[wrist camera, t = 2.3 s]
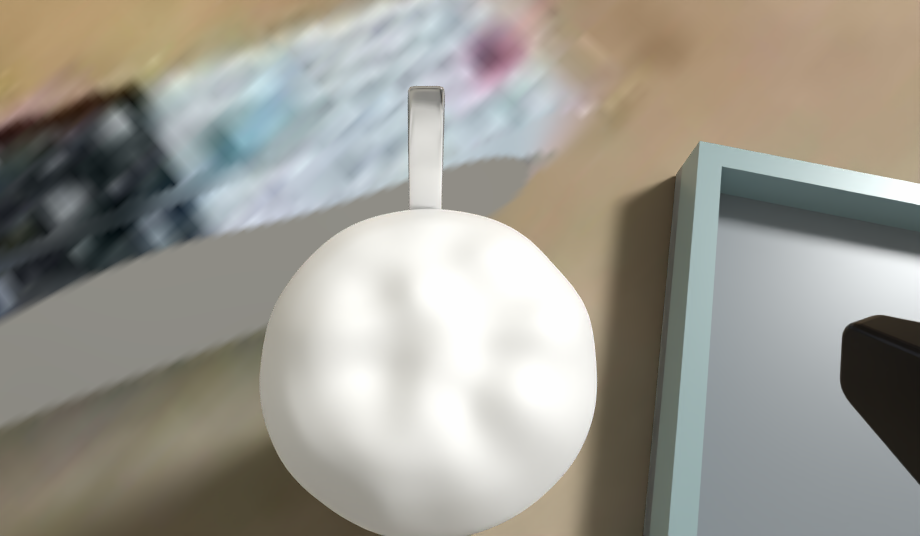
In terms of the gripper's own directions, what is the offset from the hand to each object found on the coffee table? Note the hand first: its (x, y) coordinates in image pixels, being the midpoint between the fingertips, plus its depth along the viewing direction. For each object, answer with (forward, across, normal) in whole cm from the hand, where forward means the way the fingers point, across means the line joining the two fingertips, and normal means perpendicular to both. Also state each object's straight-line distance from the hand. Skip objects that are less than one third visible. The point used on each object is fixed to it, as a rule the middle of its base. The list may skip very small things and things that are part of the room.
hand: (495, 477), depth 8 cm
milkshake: (+8, 0, +5) cm, 10 cm away
